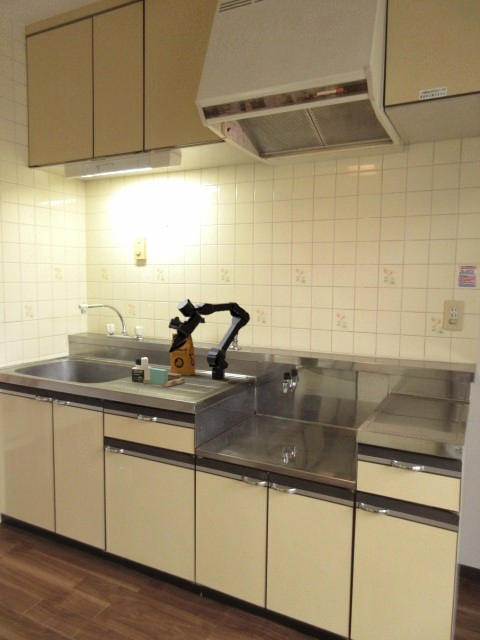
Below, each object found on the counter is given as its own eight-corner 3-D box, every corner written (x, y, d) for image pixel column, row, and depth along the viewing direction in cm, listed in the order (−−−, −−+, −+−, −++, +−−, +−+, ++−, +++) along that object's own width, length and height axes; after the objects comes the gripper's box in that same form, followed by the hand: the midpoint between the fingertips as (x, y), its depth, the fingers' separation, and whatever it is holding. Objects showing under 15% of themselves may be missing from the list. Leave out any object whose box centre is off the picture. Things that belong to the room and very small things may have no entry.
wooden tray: (164, 381, 226) (164, 375, 226) (184, 384, 219) (184, 377, 218) (144, 386, 215) (144, 379, 215) (164, 389, 207) (164, 382, 207)
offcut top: (167, 376, 224) (167, 372, 223) (181, 378, 219) (180, 374, 219) (162, 377, 221) (162, 373, 220) (176, 379, 216) (176, 375, 216)
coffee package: (188, 378, 232) (188, 334, 231) (167, 376, 237) (167, 333, 236) (198, 374, 242) (198, 332, 240) (177, 373, 247) (177, 332, 245)
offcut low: (166, 379, 224) (166, 376, 224) (180, 381, 219) (180, 378, 219) (161, 381, 221) (161, 377, 221) (175, 383, 216) (175, 379, 216)
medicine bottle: (131, 382, 222) (131, 358, 221) (140, 380, 229) (139, 355, 228) (144, 384, 219) (143, 358, 218) (152, 381, 226) (152, 356, 225)
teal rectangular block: (153, 382, 217) (153, 368, 217) (167, 385, 212) (167, 370, 211) (150, 383, 215) (149, 368, 215) (164, 386, 210) (164, 370, 209)
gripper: (174, 320, 223) (154, 344, 217) (180, 306, 206) (159, 332, 200) (192, 334, 224) (173, 358, 217) (200, 321, 207) (179, 347, 200)
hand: (171, 349), depth 208 cm, fingers open, 9 cm apart
